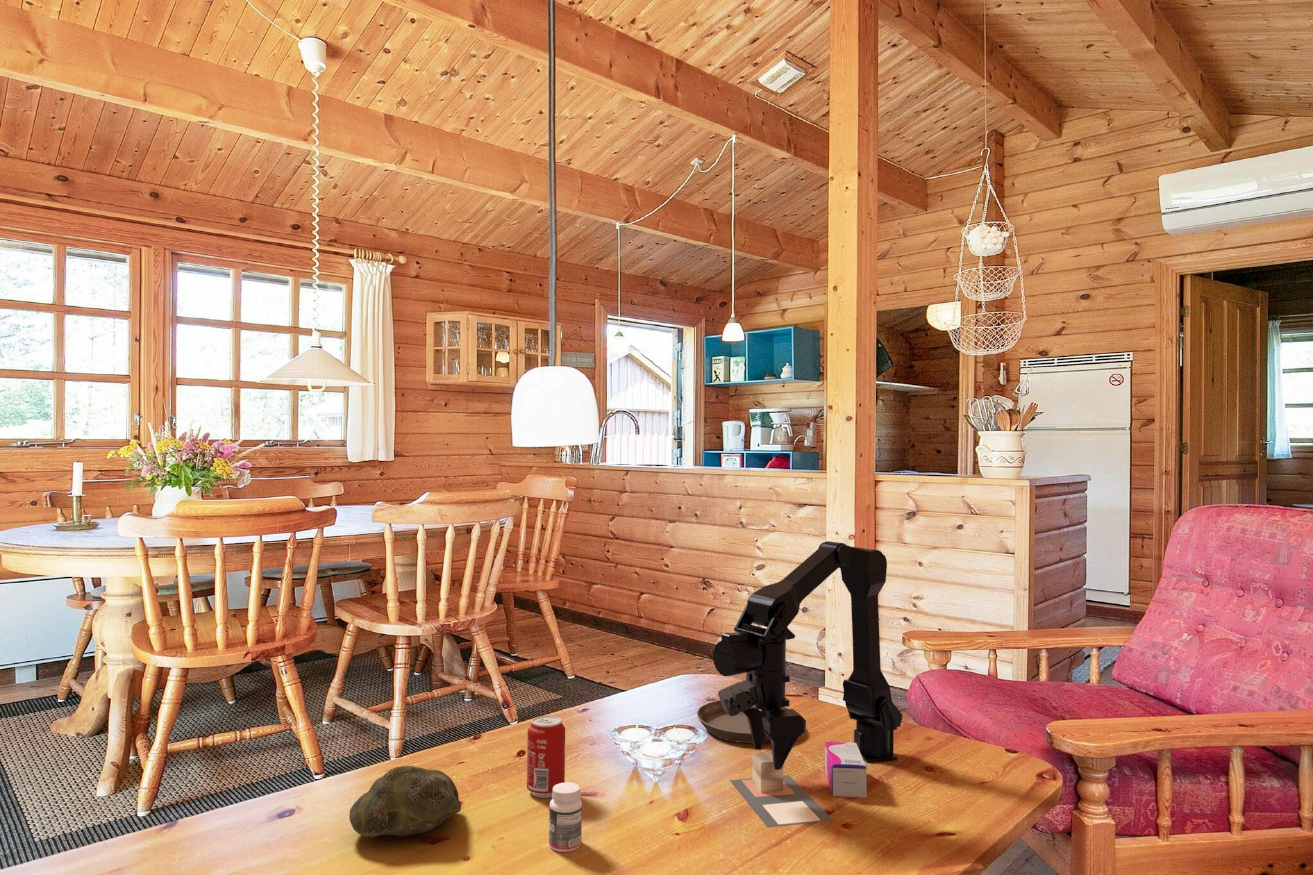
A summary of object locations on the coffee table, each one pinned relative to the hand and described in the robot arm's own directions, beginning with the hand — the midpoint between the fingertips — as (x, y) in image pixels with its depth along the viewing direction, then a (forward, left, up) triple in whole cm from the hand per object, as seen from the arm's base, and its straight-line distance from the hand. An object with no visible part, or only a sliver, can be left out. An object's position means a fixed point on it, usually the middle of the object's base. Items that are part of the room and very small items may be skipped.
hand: (767, 758), depth 139 cm
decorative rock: (+59, +2, -6) cm, 59 cm away
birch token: (0, 0, -5) cm, 5 cm away
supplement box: (-12, +6, -3) cm, 14 cm away
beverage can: (+37, -7, -6) cm, 38 cm away
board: (0, +5, -5) cm, 7 cm away
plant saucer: (-7, -30, -6) cm, 31 cm away
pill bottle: (+36, +12, -6) cm, 38 cm away
